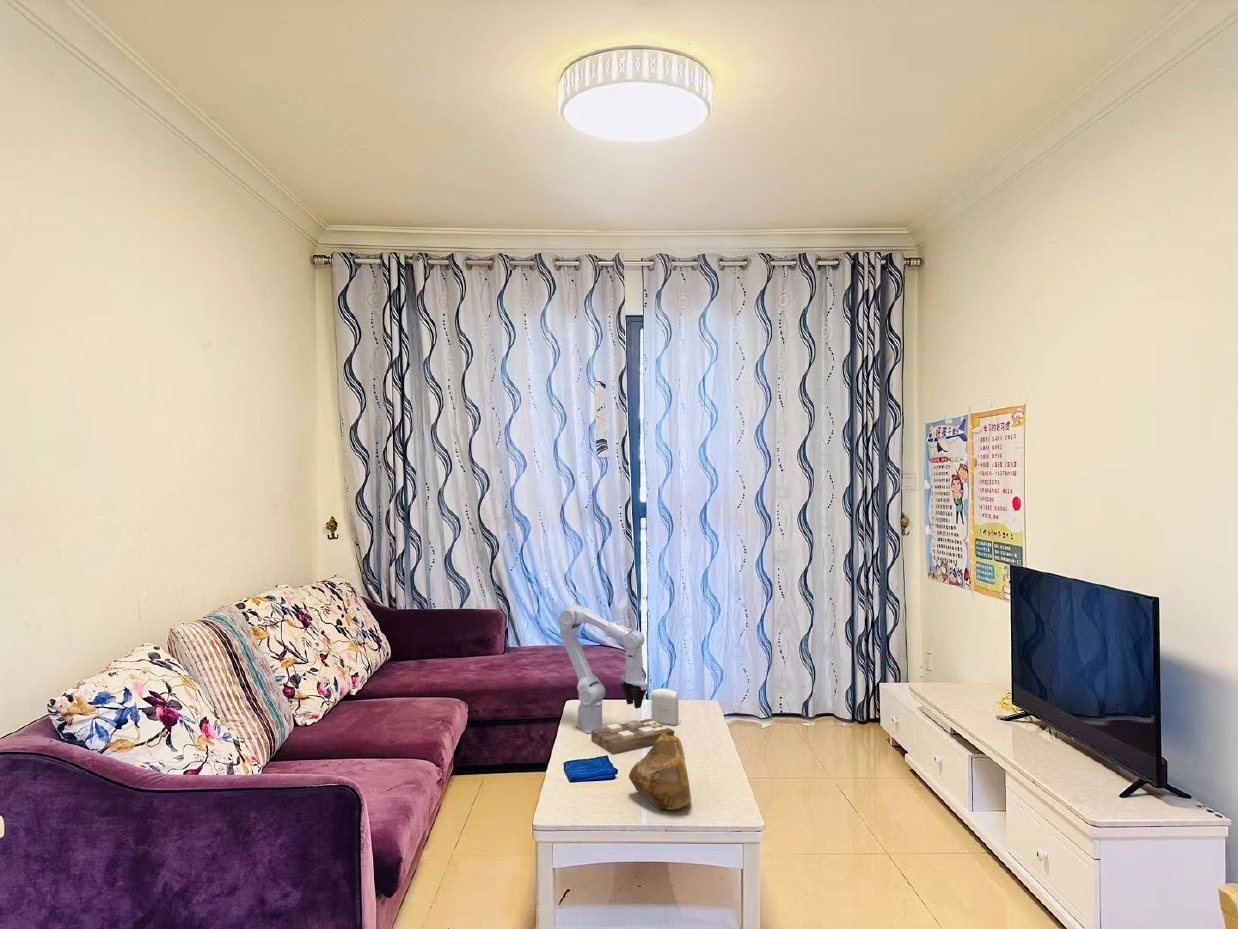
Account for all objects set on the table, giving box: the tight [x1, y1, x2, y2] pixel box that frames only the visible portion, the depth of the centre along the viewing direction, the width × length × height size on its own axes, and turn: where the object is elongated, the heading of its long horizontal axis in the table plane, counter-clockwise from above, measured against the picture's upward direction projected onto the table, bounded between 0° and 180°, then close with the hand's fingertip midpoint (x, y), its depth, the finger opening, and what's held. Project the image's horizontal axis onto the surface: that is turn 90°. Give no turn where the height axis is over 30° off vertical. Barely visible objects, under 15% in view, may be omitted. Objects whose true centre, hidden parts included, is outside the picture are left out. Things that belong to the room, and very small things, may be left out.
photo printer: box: [651, 688, 679, 726], centre depth 274 cm, size 10×4×12 cm, turn 67°
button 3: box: [625, 719, 642, 729], centre depth 260 cm, size 4×4×1 cm
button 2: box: [618, 731, 634, 740], centre depth 249 cm, size 4×4×1 cm
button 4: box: [638, 726, 655, 736], centre depth 253 cm, size 4×4×1 cm
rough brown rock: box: [628, 733, 692, 811], centre depth 210 cm, size 23×17×15 cm
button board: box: [590, 718, 675, 755], centre depth 255 cm, size 15×24×4 cm, turn 120°
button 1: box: [605, 723, 622, 733], centre depth 256 cm, size 4×4×1 cm
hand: (633, 706), depth 260 cm, fingers open, 5 cm apart
